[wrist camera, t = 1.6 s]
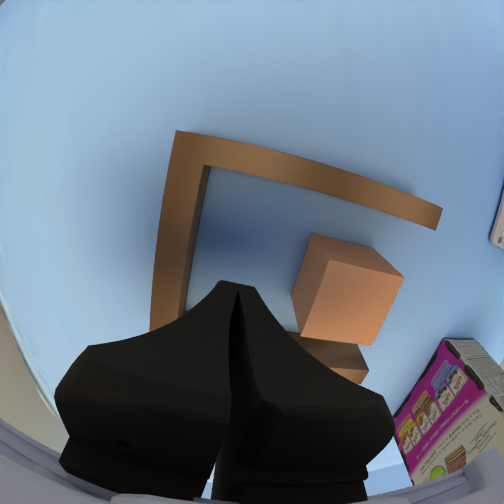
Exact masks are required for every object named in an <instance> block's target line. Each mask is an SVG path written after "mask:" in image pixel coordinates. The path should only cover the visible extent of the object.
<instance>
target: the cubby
mask: <svg viewBox="0 0 504 504" xmlns="http://www.w3.org/2000/svg"><path fill="white" fill-rule="evenodd" d="M211 166H214V167H219V168H224V169H229V170H233V171H238V172H242V173H247V174H251V175H255V176H259V177H264V178H268V179H272V180H276V181H280V182H284V183H288V184H291V185H295V186H299V187H303V188H306V189H310V190H314V191H317V192H321V193H324V194H328V195H331V196H334V197H338V198H341V199H345V200H348V201H351V202H354V203H357V204H361V205H364V206H367V207H370V208H373V209H376V210H379V211H382V212H385V213H388V214H391V215H394V216H397V217H400V218H403V219H405V220H408V221H411V222H414V223H416V224H419V225H422V226H425V227H427V228H430V229H433V230H435V231H436V228H437V225H438V222H439V219H440V216H441V213H442V210H443V208H441V207H439V206H437V205H434V204H432V203H430V202H427V201H425V200H423V199H420V198H418V197H416V196H413V195H411V194H408V193H406V192H403V191H401V190H398V189H395V188H393V187H390V186H388V185H385V184H382V183H380V182H377V181H374V180H371V179H368V178H366V177H363V176H360V175H357V174H354V173H351V172H348V171H345V170H342V169H339V168H336V167H332V166H329V165H326V164H323V163H319V162H316V161H313V160H309V159H306V158H302V157H298V156H295V155H291V154H287V153H284V152H280V151H276V150H272V149H268V148H264V147H260V146H255V145H251V144H247V143H242V142H237V141H233V140H228V139H223V138H218V137H213V136H206V135H201V134H195V133H189V132H183V131H177V130H176V133H175V138H174V142H173V147H172V152H171V157H170V162H169V167H168V173H167V178H166V184H165V190H164V196H163V202H162V208H161V215H160V222H159V229H158V237H157V245H156V254H155V263H154V273H153V284H152V296H151V311H150V329H149V332H151V331H153V330H155V329H158V328H160V327H162V326H164V325H167V324H169V323H170V322H172V321H174V320H176V319H177V318H179V317H180V316H182V315H183V314H185V313H186V312H188V311H185V305H186V298H187V291H188V285H189V278H190V272H191V266H192V260H193V254H194V248H195V243H196V237H197V231H198V226H199V221H200V216H201V210H202V205H203V200H204V195H205V190H206V186H207V181H208V176H209V171H210V167H211ZM286 332H287V331H286ZM287 333H288V334H289V335H290V336H291V337H292V338H293V339H294V340H295V341H296V342H297V343H298V344H299V345H300V346H301V347H303V348H304V349H305V350H306V351H307V352H308V353H310V354H311V355H312V356H313V357H315V358H316V359H317V360H319V361H320V362H321V363H323V364H324V365H325V366H327V367H328V368H330V369H331V370H333V371H335V372H336V373H338V374H340V375H341V376H343V377H345V378H346V379H348V380H350V381H352V382H354V383H356V384H361V383H362V381H363V380H364V378H365V377H366V375H367V373H368V372H369V369H368V367H367V365H366V362H365V360H364V358H363V356H362V354H361V352H360V349H359V347H358V345H357V344H353V343H345V342H337V341H330V340H322V339H315V338H309V337H302V336H300V334H299V333H293V332H287Z"/></svg>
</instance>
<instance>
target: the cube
mask: <svg viewBox="0 0 504 504" xmlns="http://www.w3.org/2000/svg"><path fill="white" fill-rule="evenodd" d="M403 279H404V277H403V276H402V275H401V274H400V273H399V272H398V271H397V270H396V269H395V268H394V267H393V266H392V265H391V264H390V263H389V262H388V261H386V260H385V259H384V258H383V257H382V256H381V255H380V254H379V253H378V252H377V251H376V250H375V249H372V248H369V247H365V246H361V245H357V244H354V243H350V242H346V241H342V240H338V239H334V238H330V237H326V236H323V235H319V234H315V233H311V236H310V239H309V242H308V246H307V249H306V252H305V255H304V258H303V262H302V265H301V268H300V271H299V274H298V277H297V280H296V283H295V286H294V289H293V292H292V295H291V298H292V302H293V306H294V311H295V315H296V319H297V323H298V328H299V332H300V336H302V337H309V338H315V339H322V340H330V341H337V342H345V343H353V344H362V345H372V344H373V342H374V340H375V338H376V336H377V334H378V332H379V330H380V328H381V326H382V324H383V322H384V320H385V318H386V316H387V314H388V312H389V310H390V308H391V306H392V304H393V302H394V299H395V297H396V295H397V293H398V291H399V288H400V286H401V284H402V282H403Z"/></svg>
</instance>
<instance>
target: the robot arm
mask: <svg viewBox="0 0 504 504" xmlns="http://www.w3.org/2000/svg"><path fill="white" fill-rule="evenodd" d="M490 242H491V243H492V244H494V245H496V246H498V247H500V248H502V249H504V190H503V194H502V198H501V202H500V206H499V210H498V213H497V217H496V220H495V223H494V226H493V229H492V233H491V236H490ZM54 399H55V403H56V407H57V410H58V412H59V414H60V417H61V419H62V421H63V423H64V426H65V428H66V430H67V432H68V434H69V436H70V437H69V439H68V441H67V443H66V446H65V448H64V450H63V452H62V454H61V453H59V452H57V451H55V450H53V449H51V448H49V447H47V446H45V445H43V444H41V443H40V442H38V441H36V440H34V439H33V438H31V437H29V436H28V435H26V434H24V433H23V432H21V431H19V430H18V429H16V428H15V427H13V426H12V425H10V424H9V423H7V422H6V421H4V420H3V419H1V418H0V504H504V460H503V458H502V456H501V455H500V453H499V451H498V449H497V447H493V448H491V449H489V450H487V451H485V452H483V453H481V454H479V455H477V456H476V457H475V458H473V459H472V460H471V461H470V462H469V463H467V464H466V465H465V466H464V468H463V469H460V470H458V471H455V472H453V473H450V474H448V475H445V476H442V477H439V478H437V479H434V480H431V481H428V482H424V483H421V484H418V485H414V486H411V487H407V488H404V489H400V490H396V491H391V492H387V493H383V494H378V495H373V496H367V494H366V490H365V486H364V482H363V480H366V479H367V478H368V471H367V468H366V465H367V464H368V463H369V462H370V461H371V460H372V459H373V458H375V457H376V456H377V455H378V454H379V453H380V452H381V451H382V450H383V449H384V448H385V447H386V445H387V444H388V443H389V442H390V440H391V439H392V437H393V435H394V432H395V430H396V429H395V422H394V420H393V417H392V415H391V413H390V411H389V408H388V406H387V404H386V401H385V399H384V397H383V396H382V395H380V394H378V393H375V392H373V391H371V390H369V389H366V388H364V387H362V386H360V385H358V384H356V383H354V382H352V381H350V380H348V379H346V378H345V377H343V376H341V375H340V374H338V373H336V372H335V371H333V370H331V369H330V368H328V367H327V366H325V365H324V364H323V363H321V362H320V361H319V360H317V359H316V358H315V357H313V356H312V355H311V354H310V353H308V352H307V351H306V350H305V349H304V348H303V347H301V346H300V345H299V344H298V343H297V342H296V341H295V340H294V339H293V338H292V337H291V336H290V335H289V334H288V333H287V332H286V331H285V329H284V328H283V327H282V326H281V325H280V323H279V322H278V321H277V320H276V318H275V317H274V316H273V315H272V313H271V312H270V310H269V309H268V308H267V306H266V305H265V303H264V301H263V300H262V298H261V297H260V295H259V293H258V292H257V290H256V289H255V287H252V286H247V285H243V284H238V283H233V282H229V281H224V280H220V281H219V282H218V283H217V284H216V286H215V287H214V288H213V289H212V291H211V292H210V293H209V294H208V295H207V296H206V297H205V298H203V299H202V300H201V301H200V302H199V303H198V304H197V305H195V306H194V307H193V308H192V309H190V310H189V311H188V312H186V313H185V314H183V315H182V316H180V317H179V318H177V319H176V320H174V321H172V322H170V323H169V324H167V325H164V326H162V327H160V328H158V329H155V330H153V331H151V332H148V333H145V334H142V335H139V336H136V337H132V338H129V339H125V340H120V341H115V342H109V343H103V344H97V345H89V346H88V347H87V348H86V349H85V350H84V351H83V352H82V353H81V354H80V355H79V356H78V358H77V359H76V360H75V361H74V363H73V364H72V365H71V367H70V368H69V370H68V371H67V373H66V374H65V376H64V377H63V379H62V380H61V382H60V383H59V385H58V386H57V388H56V390H55V395H54ZM215 462H216V464H215ZM214 465H215V471H214V479H213V486H212V494H211V499H204V498H201V496H202V493H203V490H204V488H205V485H206V483H207V480H208V479H209V478H210V476H211V473H212V470H213V468H214Z"/></svg>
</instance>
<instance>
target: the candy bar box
mask: <svg viewBox="0 0 504 504" xmlns="http://www.w3.org/2000/svg"><path fill="white" fill-rule="evenodd" d="M393 420H394V422H395V429H396V430H395V432H394V435H393V436H394V439H395V441H396V443H397V446H398V449H399V451H400V453H401V456H402V458H403V461H404V463H405V466H406V468H407V471H408V473H409V477H410V479H411V482H412V484H413V486H414V485H418V484H421V483H424V482H428V481H431V480H434V479H437V478H439V477H442V476H445V475H448V474H450V473H453V472H455V471H458V470H460V469H463V468H464V466H465V465H466V464H467V463H469V462H470V461H471V460H472V459H473V458H475V457H476V456H477V455H479V454H481V453H483V452H485V451H487V450H489V449H491V448H493V447H497V449H498V451H499V453H500V455H501V456H502V458H503V460H504V371H503V370H502V369H501V367H500V366H499V365H498V364H497V363H496V362H495V361H494V359H493V358H492V357H491V356H490V355H489V354H488V353H487V352H486V351H485V350H484V348H483V347H482V346H481V345H480V344H479V343H478V342H477V341H476V340H475V339H469V338H467V339H443V340H442V342H441V343H440V345H439V347H438V349H437V351H436V352H435V354H434V356H433V358H432V359H431V361H430V363H429V365H428V366H427V368H426V370H425V371H424V373H423V375H422V376H421V378H420V379H419V381H418V383H417V384H416V386H415V387H414V389H413V390H412V392H411V393H410V395H409V396H408V398H407V399H406V401H405V402H404V404H403V405H402V406H401V408H400V409H399V411H398V412H397V413H396V415H395V416H394V417H393Z"/></svg>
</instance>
